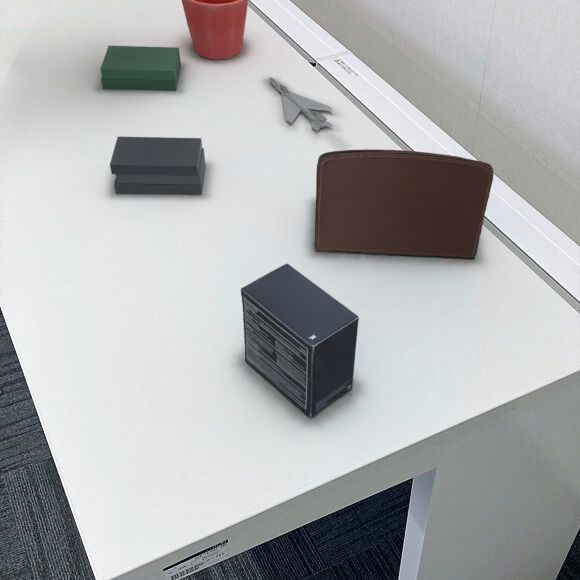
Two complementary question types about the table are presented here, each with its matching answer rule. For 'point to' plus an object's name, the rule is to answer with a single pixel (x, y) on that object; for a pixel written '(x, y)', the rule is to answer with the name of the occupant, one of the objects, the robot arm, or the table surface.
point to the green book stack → (141, 68)
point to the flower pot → (216, 26)
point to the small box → (299, 338)
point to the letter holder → (400, 203)
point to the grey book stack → (158, 165)
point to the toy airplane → (301, 107)
